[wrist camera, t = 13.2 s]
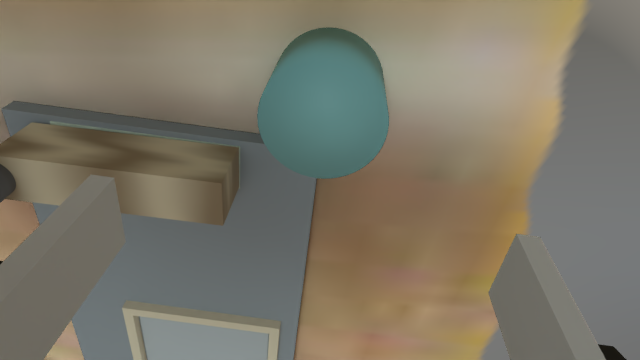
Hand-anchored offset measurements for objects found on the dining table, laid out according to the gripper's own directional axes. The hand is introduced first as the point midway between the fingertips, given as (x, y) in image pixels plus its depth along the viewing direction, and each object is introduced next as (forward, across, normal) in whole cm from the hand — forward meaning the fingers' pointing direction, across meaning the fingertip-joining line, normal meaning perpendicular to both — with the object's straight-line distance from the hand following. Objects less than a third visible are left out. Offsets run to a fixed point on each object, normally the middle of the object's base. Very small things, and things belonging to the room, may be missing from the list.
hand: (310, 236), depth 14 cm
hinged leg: (+12, -12, -6) cm, 18 cm away
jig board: (+14, -10, -19) cm, 25 cm away
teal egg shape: (+14, 0, 0) cm, 14 cm away
